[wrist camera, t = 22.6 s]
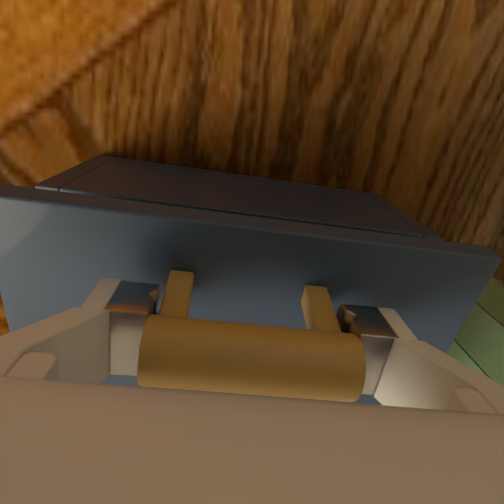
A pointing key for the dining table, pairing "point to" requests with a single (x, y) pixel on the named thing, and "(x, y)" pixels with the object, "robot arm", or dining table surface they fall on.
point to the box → (236, 195)
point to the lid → (234, 289)
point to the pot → (483, 334)
